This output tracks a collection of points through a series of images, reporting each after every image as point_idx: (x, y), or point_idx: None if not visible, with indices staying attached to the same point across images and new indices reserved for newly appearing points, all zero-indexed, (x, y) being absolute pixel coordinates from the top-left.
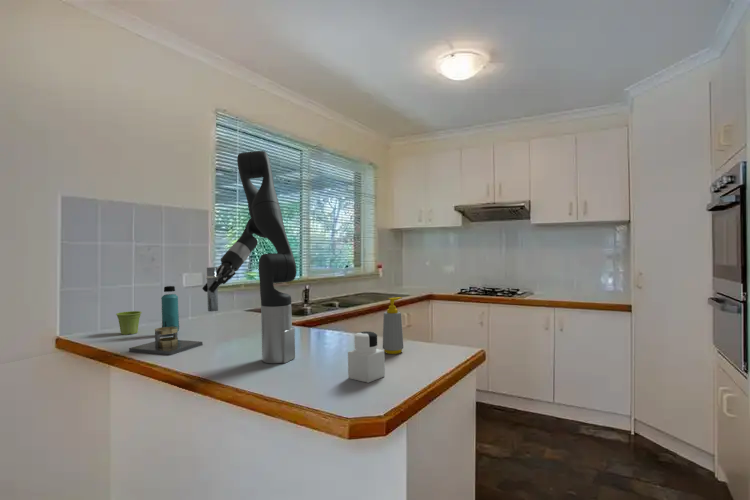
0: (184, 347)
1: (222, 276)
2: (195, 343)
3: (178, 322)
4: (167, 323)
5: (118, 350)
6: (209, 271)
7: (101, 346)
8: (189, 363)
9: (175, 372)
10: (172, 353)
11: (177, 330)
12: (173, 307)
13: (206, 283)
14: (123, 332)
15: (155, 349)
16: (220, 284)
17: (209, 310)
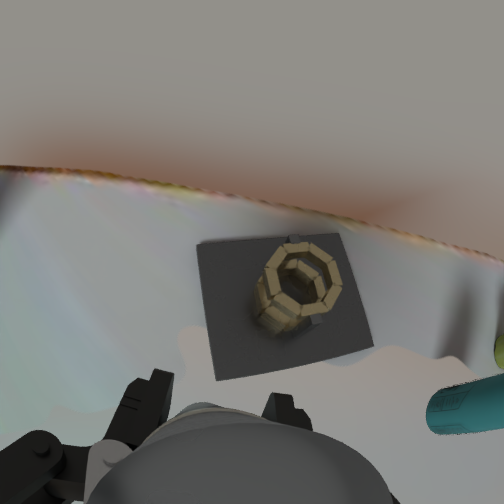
0: (203, 298)
1: (17, 472)
2: (215, 350)
3: (448, 429)
4: (451, 391)
5: (369, 238)
6: (183, 421)
7: (431, 249)
8: (88, 215)
9: (77, 169)
10: (197, 255)
11: (271, 301)
12: (486, 403)
13: None
14: (501, 335)
15: (261, 246)
16: None
17: (200, 402)
